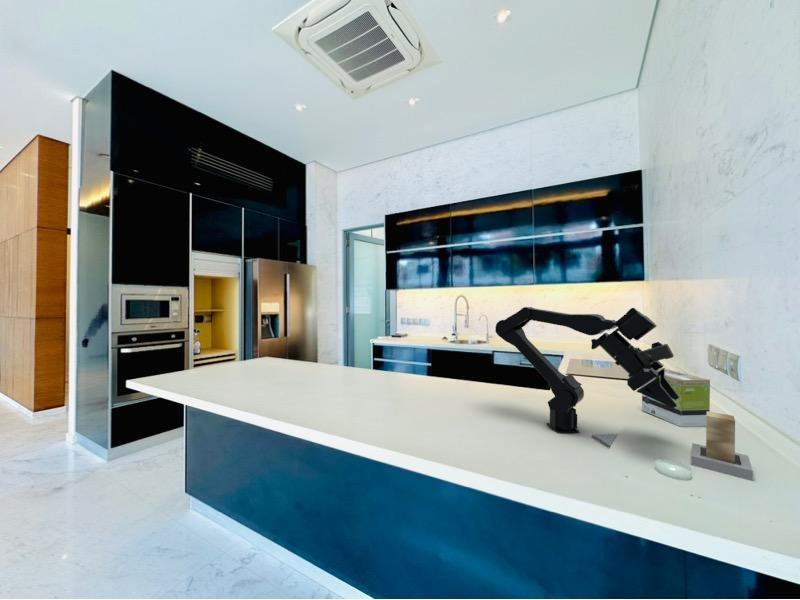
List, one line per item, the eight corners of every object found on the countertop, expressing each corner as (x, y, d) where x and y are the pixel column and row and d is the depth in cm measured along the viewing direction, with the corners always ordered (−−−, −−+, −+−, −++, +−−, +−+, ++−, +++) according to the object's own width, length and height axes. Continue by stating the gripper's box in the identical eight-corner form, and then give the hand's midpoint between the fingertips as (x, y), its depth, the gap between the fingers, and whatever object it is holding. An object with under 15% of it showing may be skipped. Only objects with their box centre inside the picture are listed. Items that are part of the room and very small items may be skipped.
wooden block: (706, 464, 75) (706, 415, 75) (706, 457, 78) (706, 411, 78) (734, 471, 72) (735, 420, 72) (733, 464, 75) (733, 415, 75)
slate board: (630, 461, 78) (630, 458, 78) (591, 437, 92) (592, 434, 92) (686, 460, 78) (686, 457, 78) (640, 436, 92) (640, 433, 92)
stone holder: (691, 469, 74) (691, 455, 74) (692, 455, 81) (692, 443, 81) (752, 485, 68) (752, 470, 68) (748, 468, 75) (748, 455, 75)
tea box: (640, 411, 115) (640, 368, 115) (667, 410, 116) (667, 368, 116) (680, 427, 100) (681, 378, 100) (711, 427, 101) (711, 378, 101)
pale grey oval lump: (671, 485, 68) (672, 472, 68) (648, 470, 74) (648, 459, 74) (699, 484, 68) (699, 472, 68) (673, 469, 74) (673, 458, 74)
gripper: (644, 334, 77) (709, 390, 69) (653, 329, 90) (708, 376, 83) (605, 363, 82) (661, 419, 74) (619, 355, 96) (667, 401, 88)
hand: (676, 402), depth 80 cm, fingers open, 9 cm apart
